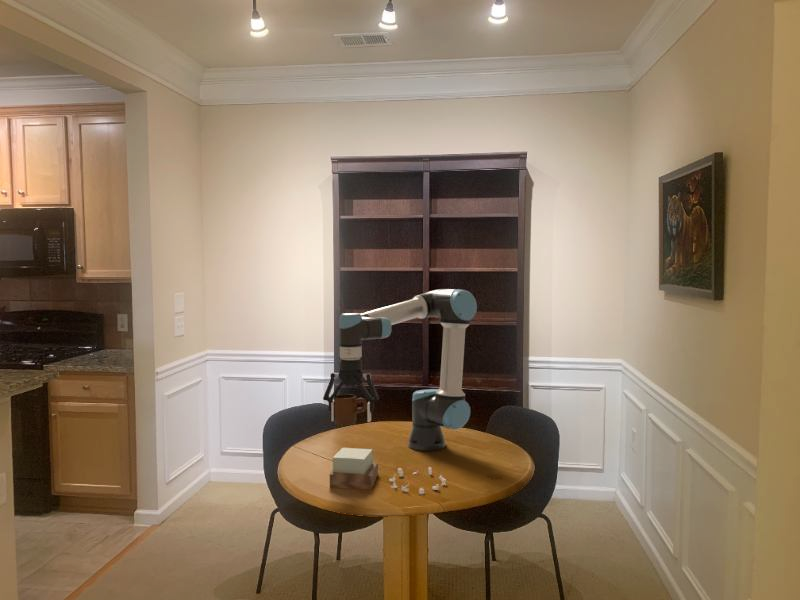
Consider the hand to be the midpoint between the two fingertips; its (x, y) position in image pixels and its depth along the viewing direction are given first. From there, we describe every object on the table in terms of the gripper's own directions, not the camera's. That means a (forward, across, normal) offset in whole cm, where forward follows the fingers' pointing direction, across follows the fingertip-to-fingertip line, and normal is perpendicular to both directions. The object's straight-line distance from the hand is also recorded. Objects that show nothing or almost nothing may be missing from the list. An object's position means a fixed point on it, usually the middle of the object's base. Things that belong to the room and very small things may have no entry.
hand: (351, 420), depth 200 cm
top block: (+16, +1, -1) cm, 16 cm away
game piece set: (+21, +23, -1) cm, 31 cm away
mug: (+1, 0, 0) cm, 1 cm away
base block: (+21, +1, -1) cm, 21 cm away
